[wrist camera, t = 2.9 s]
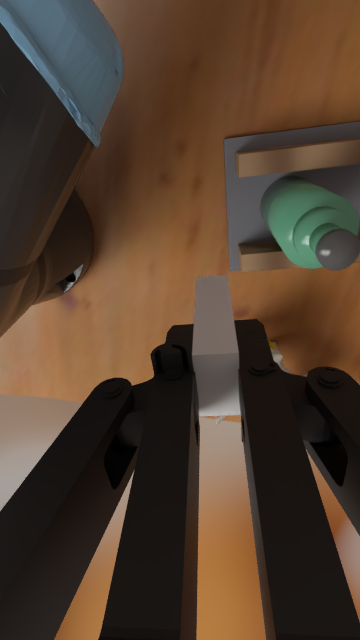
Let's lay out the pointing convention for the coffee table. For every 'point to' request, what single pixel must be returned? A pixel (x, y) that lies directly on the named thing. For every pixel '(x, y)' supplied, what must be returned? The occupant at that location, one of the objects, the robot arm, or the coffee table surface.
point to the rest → (282, 161)
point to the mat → (247, 192)
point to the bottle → (311, 223)
